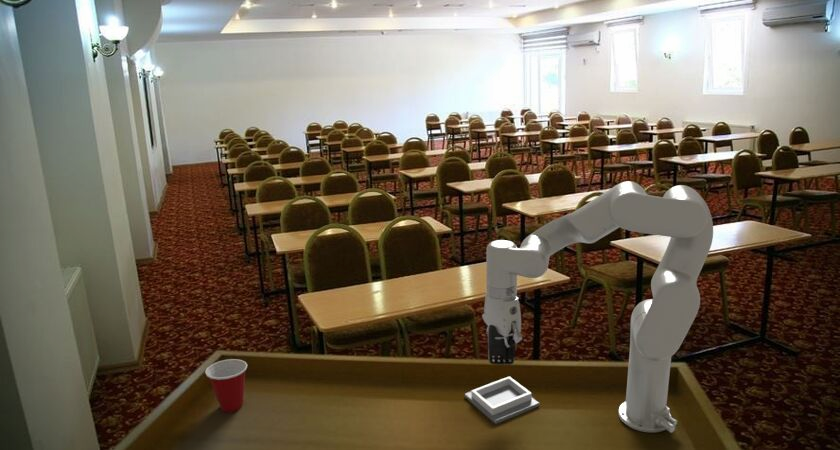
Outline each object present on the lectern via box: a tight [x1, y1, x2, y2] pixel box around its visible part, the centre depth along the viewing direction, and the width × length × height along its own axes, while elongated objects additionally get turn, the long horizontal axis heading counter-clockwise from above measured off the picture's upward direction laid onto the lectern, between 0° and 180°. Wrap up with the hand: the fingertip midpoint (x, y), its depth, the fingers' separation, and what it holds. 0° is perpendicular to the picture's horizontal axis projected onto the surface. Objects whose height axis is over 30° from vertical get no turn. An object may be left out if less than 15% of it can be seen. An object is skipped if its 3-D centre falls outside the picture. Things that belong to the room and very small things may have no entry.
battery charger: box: [487, 324, 515, 366], centre depth 160 cm, size 7×4×11 cm, turn 85°
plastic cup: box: [204, 358, 248, 413], centre depth 167 cm, size 11×11×12 cm
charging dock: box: [464, 375, 540, 425], centre depth 165 cm, size 14×14×3 cm
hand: (501, 352), depth 161 cm, fingers closed on battery charger, 6 cm apart
